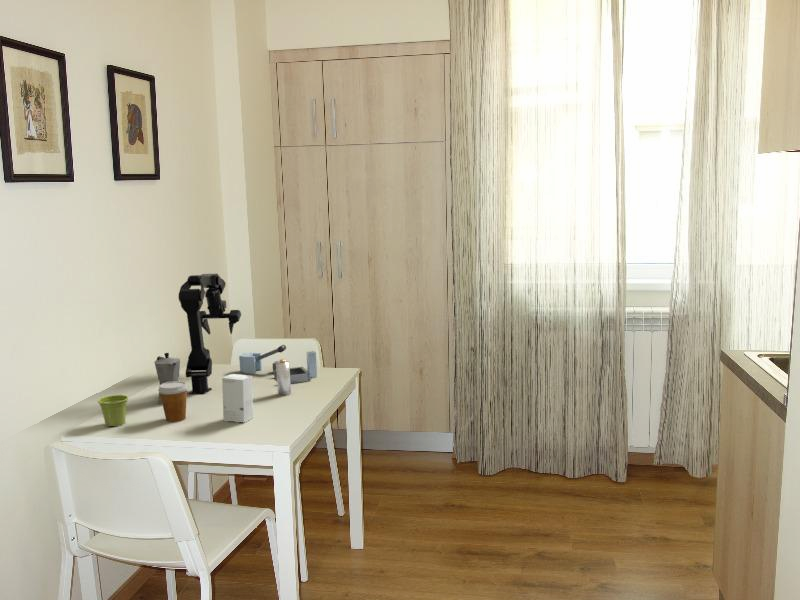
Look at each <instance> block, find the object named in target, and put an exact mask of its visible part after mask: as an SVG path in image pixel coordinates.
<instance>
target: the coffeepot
mask: <svg viewBox="0 0 800 600" xmlns="http://www.w3.org/2000/svg"><path fill="white" fill-rule="evenodd" d="M154 367H155V369H156V375H157V378H158V383H159V385H158V387H159V386H160V385H161V384H163V383H166V382H172V381H180V379H179V378H180V367H181V359H180V358H177V357H169V352H165V353H164V357H163V356H157V357H156V360H155V361H154ZM157 401H158V404H159V405H163V404H162V400H161V395H160V393H159V392H158V399H157Z"/></svg>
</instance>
